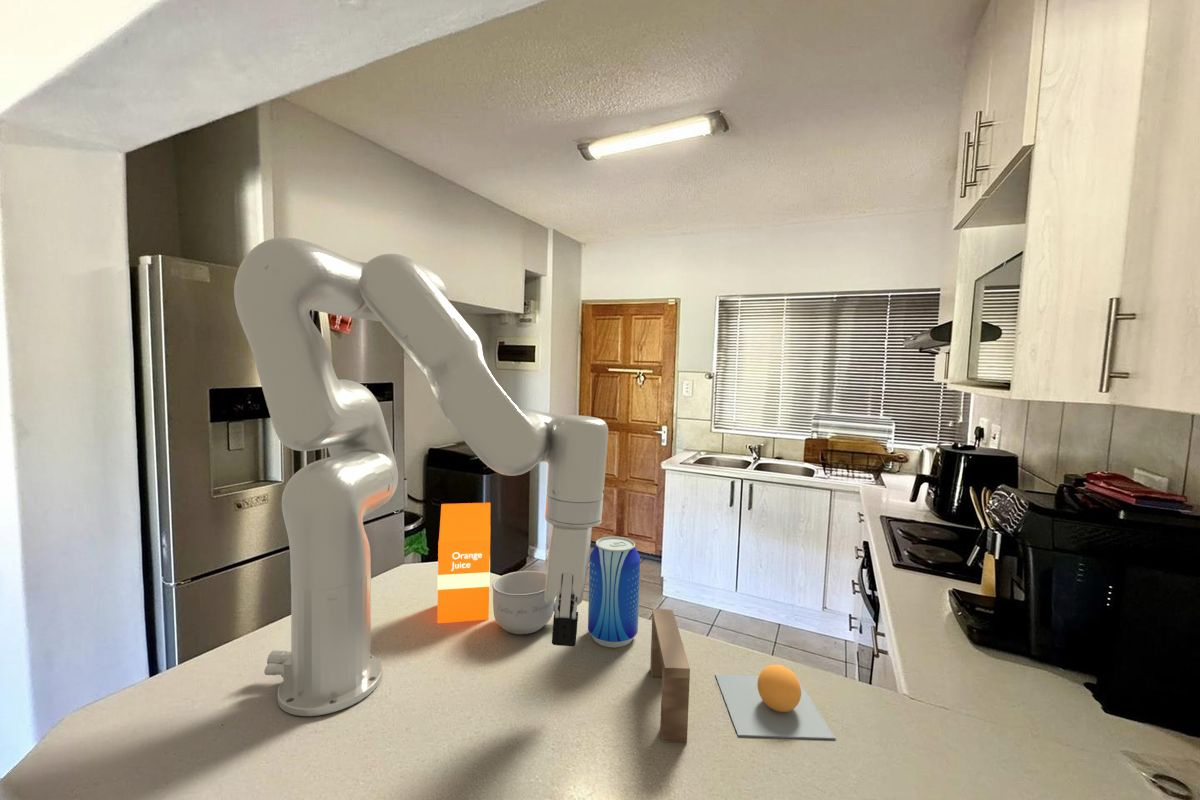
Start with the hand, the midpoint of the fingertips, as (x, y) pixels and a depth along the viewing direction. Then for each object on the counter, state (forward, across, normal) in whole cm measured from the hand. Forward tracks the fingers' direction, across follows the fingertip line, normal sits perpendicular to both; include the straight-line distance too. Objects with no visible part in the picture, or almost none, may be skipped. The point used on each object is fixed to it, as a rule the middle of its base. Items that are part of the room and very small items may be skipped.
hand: (564, 642), depth 65 cm
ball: (+4, +1, +29) cm, 29 cm away
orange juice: (+9, -23, -20) cm, 31 cm away
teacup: (+8, -19, -6) cm, 22 cm away
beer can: (+8, -16, +8) cm, 19 cm away
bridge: (+7, 0, +14) cm, 16 cm away
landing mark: (+6, 0, +28) cm, 29 cm away
